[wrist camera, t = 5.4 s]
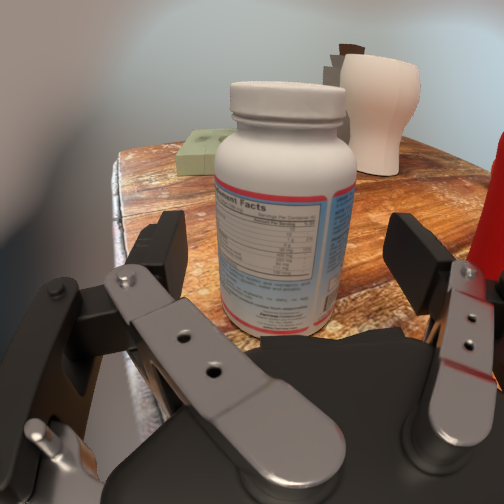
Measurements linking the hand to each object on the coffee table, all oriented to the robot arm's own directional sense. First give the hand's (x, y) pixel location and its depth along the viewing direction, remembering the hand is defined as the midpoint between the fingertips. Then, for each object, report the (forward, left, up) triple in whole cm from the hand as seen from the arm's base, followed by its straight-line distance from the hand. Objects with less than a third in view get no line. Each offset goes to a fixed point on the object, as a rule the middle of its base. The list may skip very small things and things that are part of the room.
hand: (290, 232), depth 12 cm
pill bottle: (0, +3, -6) cm, 7 cm away
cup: (+16, +30, -6) cm, 34 cm away
